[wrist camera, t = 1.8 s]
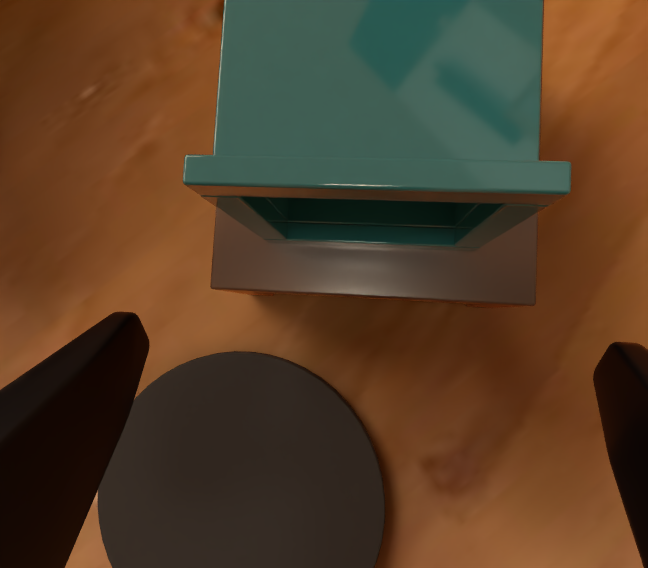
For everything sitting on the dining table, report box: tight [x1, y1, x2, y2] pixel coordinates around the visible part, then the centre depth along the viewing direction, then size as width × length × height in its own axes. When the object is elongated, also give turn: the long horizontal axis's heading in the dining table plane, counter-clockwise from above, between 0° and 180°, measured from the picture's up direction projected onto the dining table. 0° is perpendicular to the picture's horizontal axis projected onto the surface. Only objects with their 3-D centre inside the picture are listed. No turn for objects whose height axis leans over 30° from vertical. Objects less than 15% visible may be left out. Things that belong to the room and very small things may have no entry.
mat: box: [98, 351, 385, 568], centre depth 19 cm, size 13×13×1 cm
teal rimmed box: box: [183, 0, 571, 251], centre depth 11 cm, size 8×7×7 cm
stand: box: [211, 0, 544, 308], centre depth 17 cm, size 11×11×5 cm
